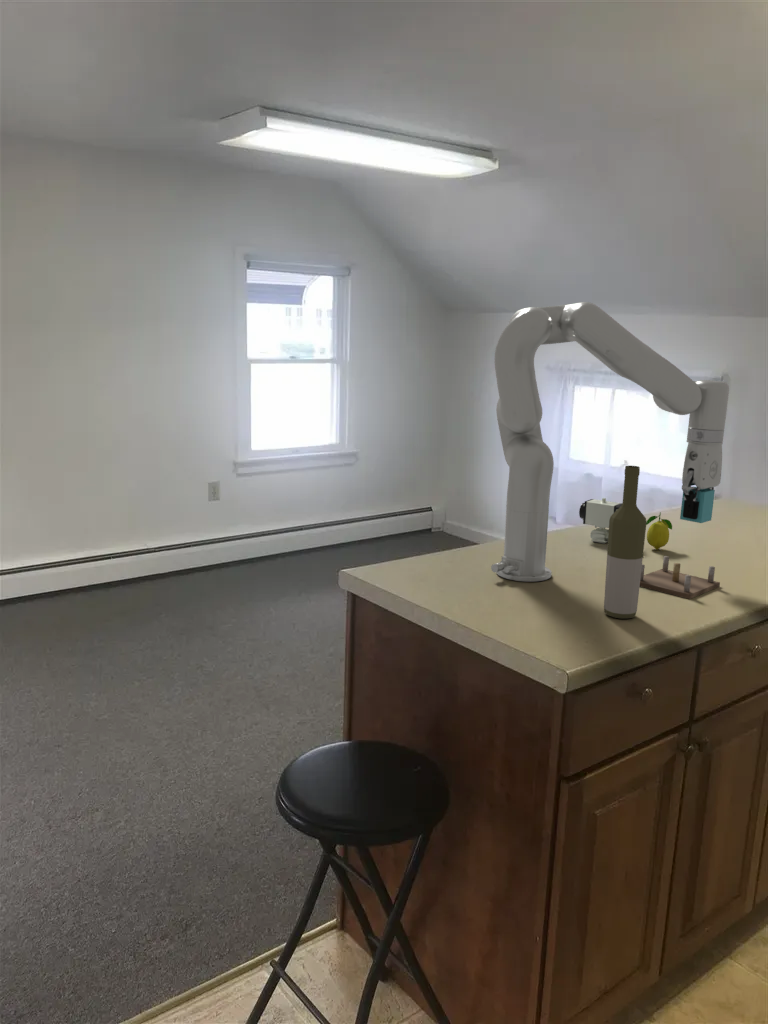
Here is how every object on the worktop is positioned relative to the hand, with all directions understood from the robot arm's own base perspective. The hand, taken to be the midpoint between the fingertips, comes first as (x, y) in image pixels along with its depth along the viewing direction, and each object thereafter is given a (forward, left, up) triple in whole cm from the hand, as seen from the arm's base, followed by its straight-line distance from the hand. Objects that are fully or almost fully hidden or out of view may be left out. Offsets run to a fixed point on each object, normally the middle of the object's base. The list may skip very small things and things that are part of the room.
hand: (695, 515), depth 190 cm
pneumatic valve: (+15, +33, -15) cm, 39 cm away
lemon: (+19, +19, -15) cm, 31 cm away
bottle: (-35, -3, -15) cm, 38 cm away
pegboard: (-7, 0, -15) cm, 17 cm away
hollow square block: (0, 0, -1) cm, 1 cm away
